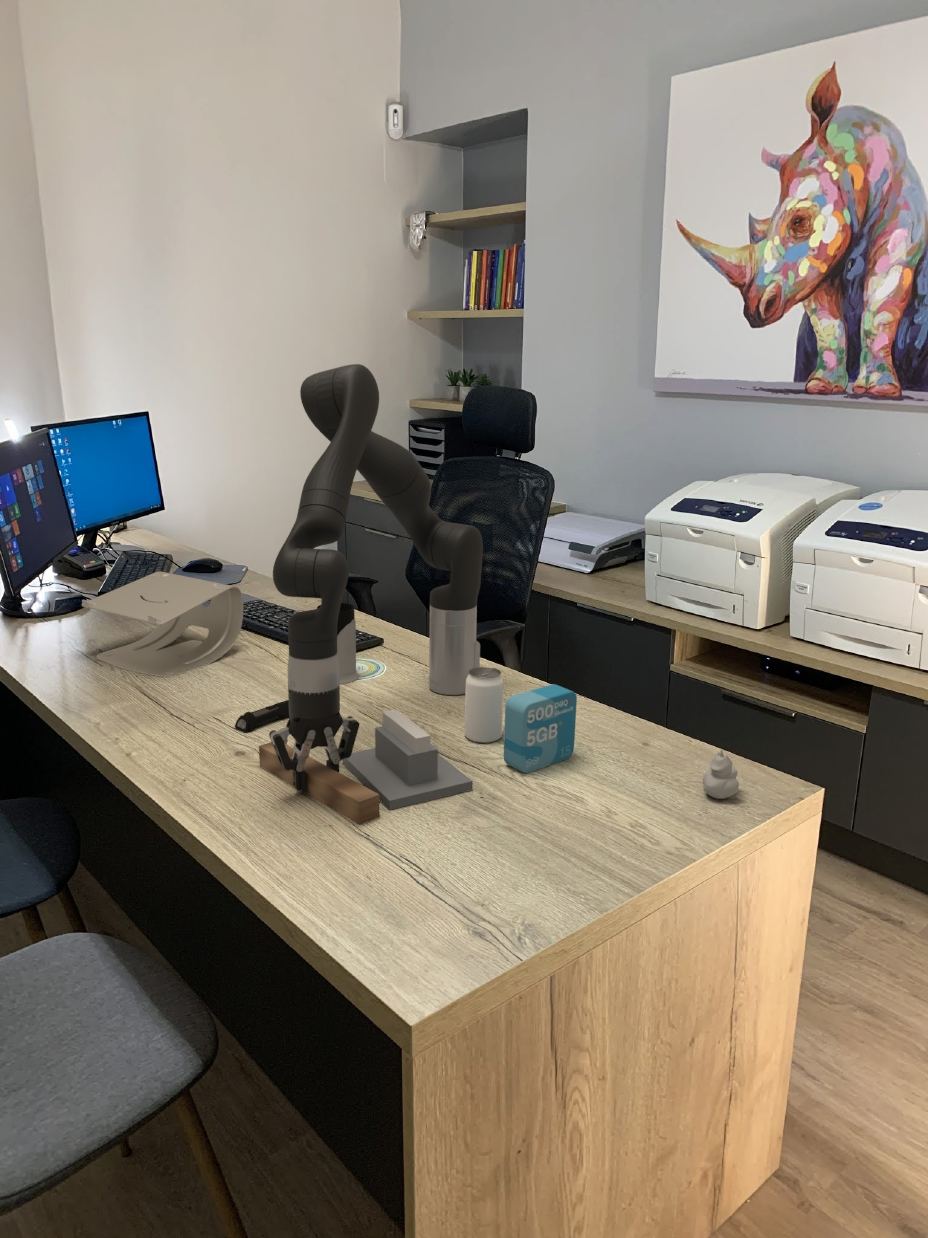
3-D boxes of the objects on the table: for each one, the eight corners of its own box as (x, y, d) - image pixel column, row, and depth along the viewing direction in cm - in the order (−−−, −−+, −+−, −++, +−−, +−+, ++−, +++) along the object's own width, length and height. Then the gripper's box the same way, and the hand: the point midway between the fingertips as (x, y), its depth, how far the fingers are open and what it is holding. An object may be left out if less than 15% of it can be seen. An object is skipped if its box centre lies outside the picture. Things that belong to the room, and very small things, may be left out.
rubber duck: (692, 794, 141) (697, 746, 139) (718, 783, 145) (723, 736, 143) (722, 808, 137) (727, 758, 135) (747, 795, 141) (753, 747, 139)
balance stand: (419, 747, 156) (419, 697, 154) (472, 790, 141) (473, 735, 139) (342, 763, 150) (341, 711, 147) (389, 810, 135) (389, 753, 132)
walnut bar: (259, 766, 148) (258, 746, 147) (278, 760, 150) (278, 740, 149) (359, 825, 130) (359, 802, 129) (379, 817, 133) (379, 794, 132)
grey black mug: (347, 687, 184) (345, 614, 180) (284, 678, 188) (281, 607, 184) (365, 673, 192) (364, 604, 188) (304, 665, 196) (302, 597, 192)
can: (506, 732, 163) (508, 668, 160) (495, 746, 157) (497, 680, 154) (471, 727, 165) (472, 664, 162) (459, 740, 159) (460, 675, 156)
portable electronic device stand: (248, 651, 204) (245, 584, 200) (164, 681, 185) (158, 607, 181) (170, 632, 217) (165, 568, 213) (83, 658, 198) (76, 588, 194)
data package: (521, 776, 146) (523, 705, 143) (502, 766, 150) (504, 697, 147) (574, 757, 154) (578, 689, 150) (555, 748, 157) (558, 682, 154)
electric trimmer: (314, 711, 172) (313, 695, 171) (246, 735, 160) (246, 718, 160) (300, 707, 174) (300, 691, 174) (233, 729, 163) (232, 712, 162)
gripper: (348, 667, 142) (350, 769, 147) (258, 681, 135) (263, 787, 140) (368, 682, 136) (369, 788, 140) (275, 697, 129) (279, 808, 134)
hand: (316, 787), depth 140 cm, fingers closed on walnut bar, 4 cm apart
